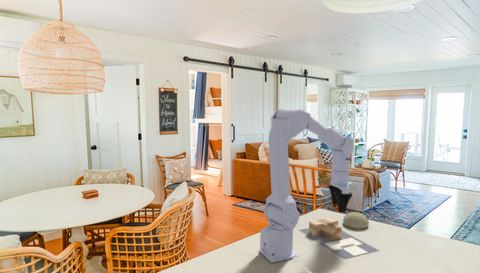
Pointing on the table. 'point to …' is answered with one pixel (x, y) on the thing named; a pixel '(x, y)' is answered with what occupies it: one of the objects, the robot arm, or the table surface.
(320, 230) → the T block
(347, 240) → the T board
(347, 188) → the robot arm
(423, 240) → the table surface
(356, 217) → the sea urchin shell
